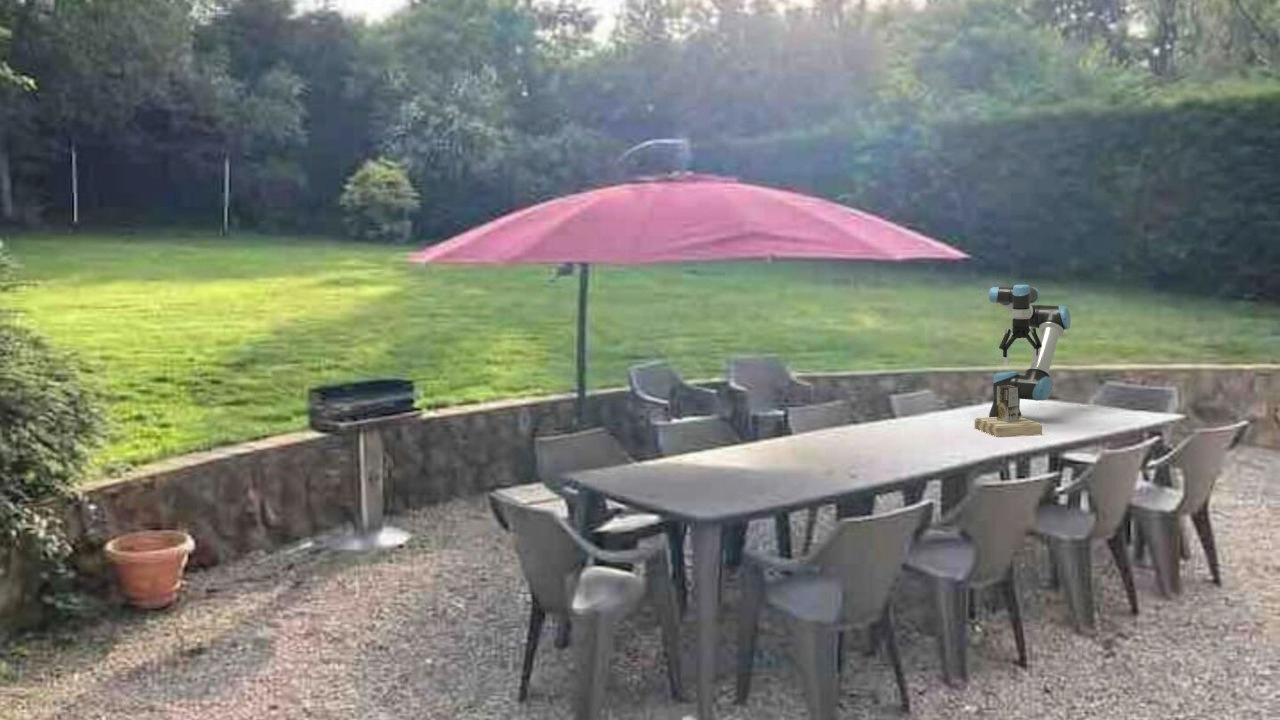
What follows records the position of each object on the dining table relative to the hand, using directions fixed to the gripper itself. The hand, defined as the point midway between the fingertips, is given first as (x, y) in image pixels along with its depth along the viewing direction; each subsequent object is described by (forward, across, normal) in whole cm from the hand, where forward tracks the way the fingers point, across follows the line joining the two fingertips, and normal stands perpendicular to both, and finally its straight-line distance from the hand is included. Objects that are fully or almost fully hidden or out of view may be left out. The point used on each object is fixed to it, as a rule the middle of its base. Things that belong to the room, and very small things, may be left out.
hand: (1020, 363), depth 516 cm
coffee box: (+25, -10, -8) cm, 28 cm away
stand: (+30, -10, -8) cm, 33 cm away
